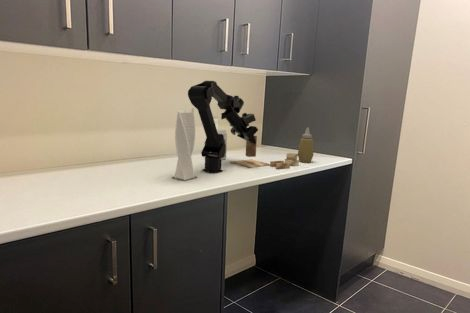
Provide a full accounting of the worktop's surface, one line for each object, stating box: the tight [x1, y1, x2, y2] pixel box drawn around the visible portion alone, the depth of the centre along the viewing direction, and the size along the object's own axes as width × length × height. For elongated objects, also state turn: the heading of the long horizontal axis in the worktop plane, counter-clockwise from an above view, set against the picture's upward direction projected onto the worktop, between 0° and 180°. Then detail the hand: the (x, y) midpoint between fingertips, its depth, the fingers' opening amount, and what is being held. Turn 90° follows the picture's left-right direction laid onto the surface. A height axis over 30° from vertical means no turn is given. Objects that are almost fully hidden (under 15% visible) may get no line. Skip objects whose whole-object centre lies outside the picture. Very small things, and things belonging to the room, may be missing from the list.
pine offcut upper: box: [285, 152, 298, 161], centre depth 164 cm, size 4×4×3 cm
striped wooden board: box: [229, 158, 270, 169], centre depth 163 cm, size 14×14×1 cm
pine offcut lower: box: [284, 158, 300, 167], centre depth 165 cm, size 5×5×3 cm
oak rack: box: [269, 160, 291, 170], centre depth 158 cm, size 7×6×2 cm
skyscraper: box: [171, 105, 198, 182], centre depth 127 cm, size 8×8×28 cm
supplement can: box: [210, 128, 228, 161], centre depth 172 cm, size 8×8×15 cm
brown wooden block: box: [245, 135, 258, 158], centre depth 162 cm, size 4×3×10 cm
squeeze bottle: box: [297, 127, 314, 164], centre depth 174 cm, size 8×8×18 cm
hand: (253, 142), depth 162 cm, fingers closed on brown wooden block, 3 cm apart
